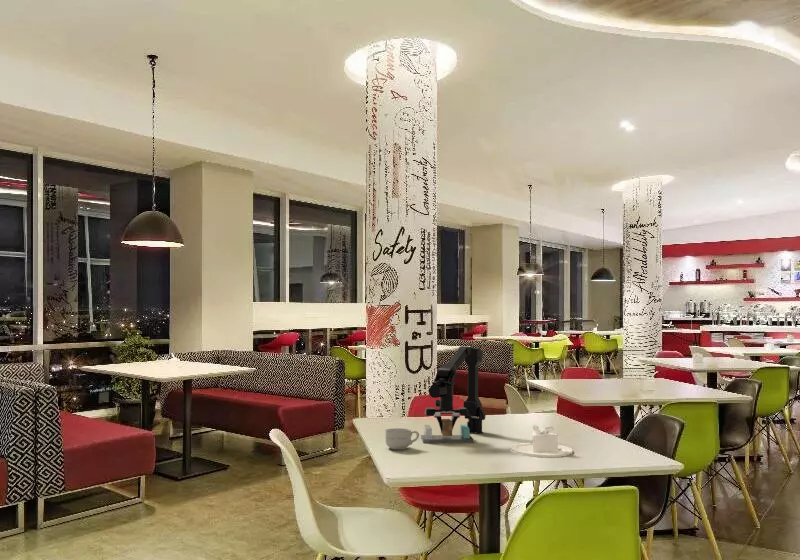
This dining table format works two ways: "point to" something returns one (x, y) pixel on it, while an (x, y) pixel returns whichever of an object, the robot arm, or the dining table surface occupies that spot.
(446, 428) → the brown rectangular block
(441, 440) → the vise base
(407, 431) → the teacup
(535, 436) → the dish
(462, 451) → the dining table surface
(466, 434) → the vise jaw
